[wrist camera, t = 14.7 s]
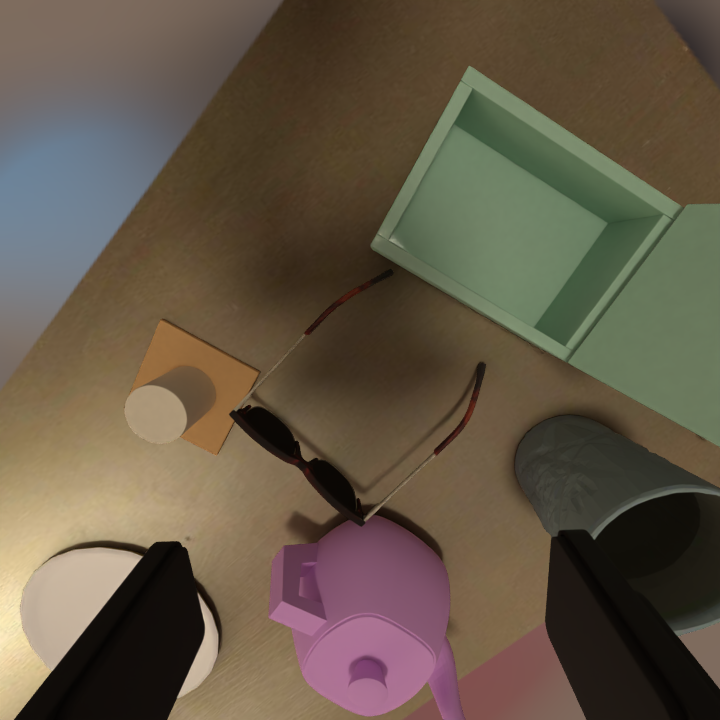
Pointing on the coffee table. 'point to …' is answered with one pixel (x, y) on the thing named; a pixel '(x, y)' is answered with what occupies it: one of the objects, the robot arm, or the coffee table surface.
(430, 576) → the teapot
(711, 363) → the green box lid
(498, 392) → the coffee table surface
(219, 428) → the mat
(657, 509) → the grey textured cup
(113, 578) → the plate
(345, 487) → the sunglasses
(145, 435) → the cylinder
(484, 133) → the green open box
